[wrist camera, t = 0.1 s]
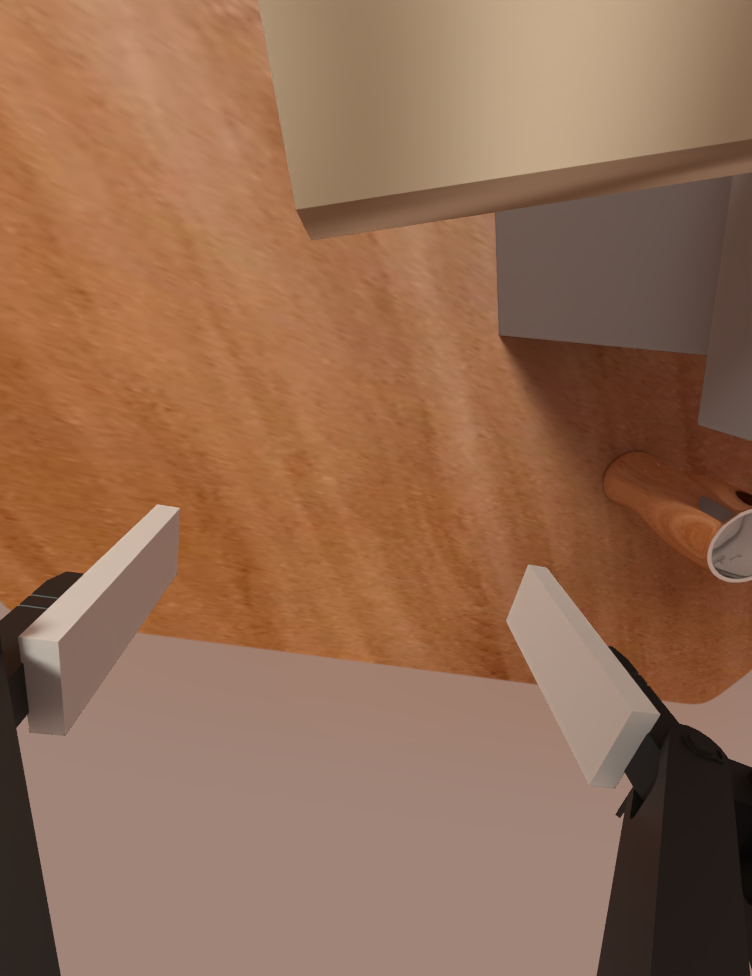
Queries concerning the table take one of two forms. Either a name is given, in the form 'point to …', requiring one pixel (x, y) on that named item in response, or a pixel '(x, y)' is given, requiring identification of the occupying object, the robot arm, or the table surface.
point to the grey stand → (641, 280)
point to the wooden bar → (502, 103)
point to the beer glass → (687, 513)
